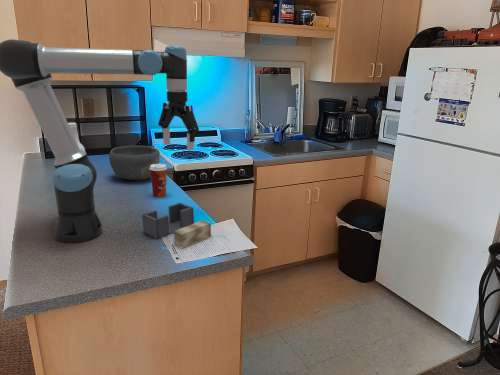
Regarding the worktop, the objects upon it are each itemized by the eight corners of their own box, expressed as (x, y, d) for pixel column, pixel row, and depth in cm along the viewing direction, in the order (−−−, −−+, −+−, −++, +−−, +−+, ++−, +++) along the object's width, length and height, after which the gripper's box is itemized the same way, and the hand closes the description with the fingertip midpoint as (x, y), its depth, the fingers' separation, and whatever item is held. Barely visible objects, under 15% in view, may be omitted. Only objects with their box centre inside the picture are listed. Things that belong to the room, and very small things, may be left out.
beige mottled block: (182, 248, 126) (182, 234, 124) (174, 244, 128) (174, 231, 126) (210, 236, 135) (210, 223, 134) (203, 232, 138) (202, 220, 136)
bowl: (168, 180, 195) (167, 151, 191) (121, 188, 181) (118, 157, 177) (149, 169, 214) (147, 143, 209) (104, 175, 200) (102, 147, 195)
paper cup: (164, 199, 169) (162, 168, 165) (147, 197, 171) (146, 166, 166) (171, 193, 176) (170, 164, 172) (155, 191, 178) (154, 162, 174)
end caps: (156, 239, 131) (155, 220, 129) (143, 232, 135) (142, 214, 133) (193, 224, 143) (193, 207, 141) (180, 219, 148) (180, 202, 146)
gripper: (208, 92, 137) (208, 151, 143) (163, 88, 151) (164, 141, 158) (193, 93, 131) (193, 154, 138) (147, 88, 146) (150, 143, 152)
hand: (178, 147), depth 148 cm, fingers open, 13 cm apart
